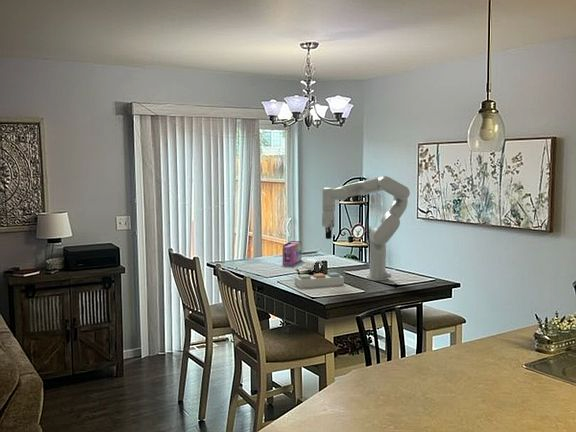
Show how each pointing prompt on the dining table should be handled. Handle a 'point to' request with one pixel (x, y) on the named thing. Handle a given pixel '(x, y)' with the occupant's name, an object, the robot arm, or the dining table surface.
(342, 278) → the button panel
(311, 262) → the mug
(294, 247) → the gum box
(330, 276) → the slate button
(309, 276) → the sage button
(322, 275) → the terracotta button
